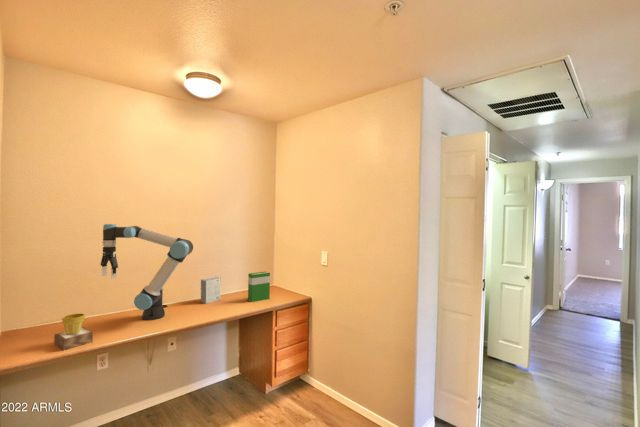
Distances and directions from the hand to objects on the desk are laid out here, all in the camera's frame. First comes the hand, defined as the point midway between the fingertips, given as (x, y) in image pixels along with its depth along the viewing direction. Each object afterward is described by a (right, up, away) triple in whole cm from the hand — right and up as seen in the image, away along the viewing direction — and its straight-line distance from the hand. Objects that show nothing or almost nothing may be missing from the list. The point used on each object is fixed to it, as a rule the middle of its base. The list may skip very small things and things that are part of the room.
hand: (108, 276), depth 215 cm
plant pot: (0, -27, -31) cm, 41 cm away
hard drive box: (+50, -34, +59) cm, 84 cm away
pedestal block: (+1, -33, -32) cm, 45 cm away
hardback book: (+91, -34, +66) cm, 117 cm away
